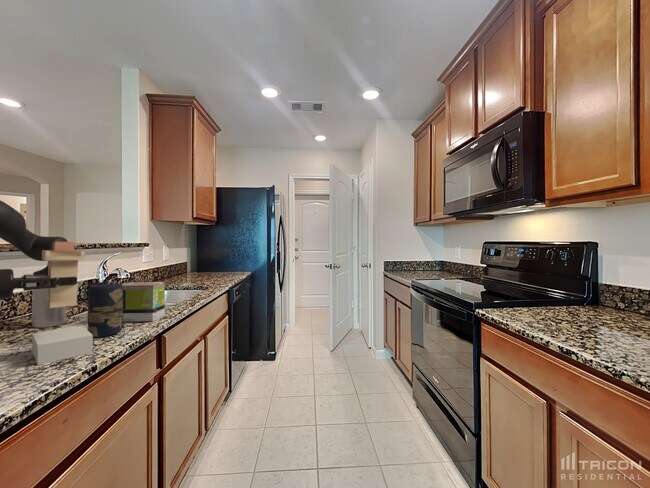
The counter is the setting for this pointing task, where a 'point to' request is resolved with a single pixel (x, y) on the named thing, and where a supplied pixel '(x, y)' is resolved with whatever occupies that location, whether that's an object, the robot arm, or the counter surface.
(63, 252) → the pedestal tray
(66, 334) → the dock
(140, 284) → the tea box
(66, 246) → the cargo block
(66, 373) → the counter surface
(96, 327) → the canister
